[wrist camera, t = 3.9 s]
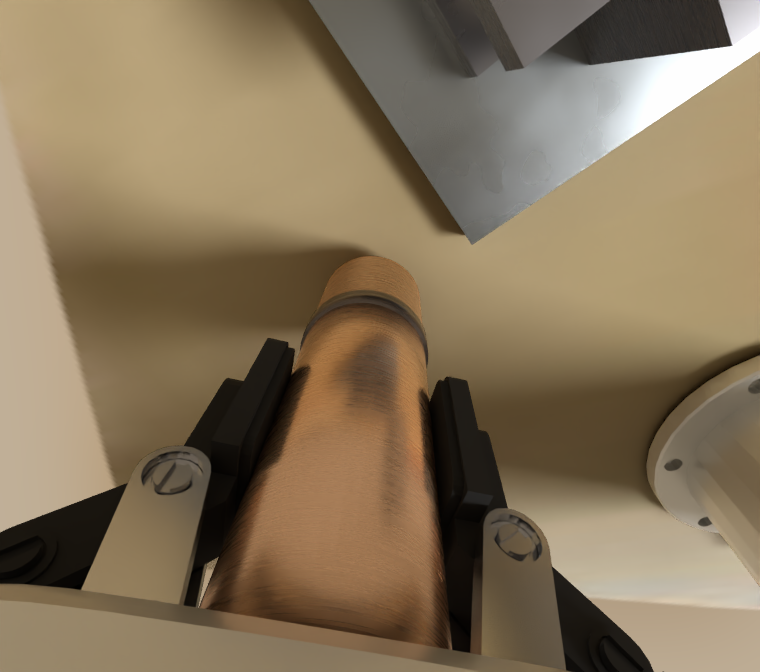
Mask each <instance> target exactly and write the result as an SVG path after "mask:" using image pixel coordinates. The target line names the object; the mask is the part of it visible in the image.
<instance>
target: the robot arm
mask: <svg viewBox="0 0 760 672" xmlns="http://www.w3.org/2000/svg"><path fill="white" fill-rule="evenodd" d="M294 353H295V349H293V348H288V342H285V341H280V340H276V339H271V338H268V339H267V340H266V342H265V344H264V346H263V348H262V349H261V351H260V353H259V355H258V357H257V358H256V360H255V362H254V364H253V366H252V367H251V369H250V371H249V373H248V375H247V377H246V378H245V380H244V381H239V380H235V379H230V378H227V379H226V380H225V381H224V382H223V384H222V385H221V387H220V388H219V390H218V392H217V393H216V395H215V396H214V398H213V400H212V401H211V403H210V404H209V406H208V408H207V409H206V411H205V412H204V414H203V416H202V417H201V419H200V421H199V422H198V424H197V425H196V427H195V429H194V430H193V432H192V433H191V435H190V437H189V438H188V440H187V441H186V443H185V445H184V446H169V447H165V448H161V449H158V450H156V451H154V452H152V453H150V454H148V455H147V456H146V457H144V458H143V459H142V460H141V461H140V462H139V463H138V465H137V466H136V468H135V469H134V471H133V473H132V475H131V478H130V480H129V482H128V483H126V484H124V485H121V486H119V487H116V488H113V489H111V490H108V491H106V492H103V493H101V494H98V495H95V496H92V497H90V498H87V499H84V500H82V501H79V502H77V503H74V504H71V505H69V506H66V507H64V508H61V509H58V510H56V511H53V512H51V513H48V514H45V515H42V516H40V517H37V518H35V519H32V520H29V521H27V522H24V523H21V524H19V525H16V526H14V527H11V528H9V529H7V530H5V531H3V532H1V533H0V672H654V671H653V669H652V667H651V664H650V662H649V660H648V659H647V657H646V656H645V654H644V653H643V651H642V650H641V649H640V647H639V646H638V645H637V644H636V643H635V642H634V641H633V640H632V639H631V638H630V637H629V636H628V635H627V634H626V633H625V632H624V631H623V630H622V629H621V628H619V627H618V626H617V625H616V624H615V623H614V622H613V621H612V620H611V619H610V618H608V617H607V616H606V615H605V614H604V613H603V612H602V611H601V610H600V609H599V608H597V607H596V606H595V605H594V604H593V603H592V602H591V601H590V600H589V599H588V598H586V597H585V596H584V595H583V594H582V593H581V592H580V591H579V590H578V589H576V588H575V587H574V586H573V585H572V584H571V583H570V582H569V581H568V580H567V579H565V578H564V577H563V576H562V575H561V574H560V573H559V572H558V571H557V570H555V569H554V568H553V567H552V564H551V556H550V549H549V545H548V542H547V539H546V537H545V536H544V534H543V532H542V531H541V529H540V528H539V527H538V526H537V525H536V524H535V523H534V522H533V521H532V520H531V519H529V518H528V517H527V516H525V515H524V514H522V513H520V512H518V511H515V510H512V509H508V507H507V503H506V500H505V496H504V492H503V488H502V484H501V480H500V476H499V472H498V469H497V465H496V461H495V457H494V453H493V449H492V445H491V442H490V438H489V435H488V433H487V432H486V431H481V430H478V426H477V422H476V418H475V413H474V409H473V405H472V400H471V396H470V392H469V387H468V383H467V381H466V380H461V379H457V378H452V377H446V378H445V380H444V381H442V380H438V382H437V384H436V387H435V389H434V392H433V395H432V398H431V400H430V414H431V425H432V436H433V447H434V457H435V468H436V479H437V490H438V501H439V512H440V523H441V533H442V544H443V555H444V566H445V577H446V588H447V599H448V610H449V620H450V631H451V642H452V650H449V649H443V648H437V647H431V646H426V645H420V644H414V643H408V642H402V641H396V640H390V639H384V638H378V637H372V636H367V635H361V634H355V633H349V632H343V631H337V630H331V629H325V628H319V627H313V626H307V625H301V624H295V623H289V622H283V621H277V620H271V619H264V618H258V617H252V616H246V615H240V614H233V613H227V612H221V611H215V610H209V609H202V608H198V606H199V601H200V596H201V591H202V587H203V582H204V576H205V572H206V567H207V563H208V562H210V561H212V560H214V559H215V558H217V557H219V556H220V553H221V551H222V548H223V545H224V543H225V540H226V538H227V535H228V533H229V530H230V528H231V525H232V523H233V520H234V518H235V515H236V513H237V510H238V508H239V505H240V503H241V500H242V497H243V495H244V492H245V490H246V488H247V486H248V484H249V481H250V478H251V476H252V473H253V471H254V468H255V466H256V463H257V461H258V458H259V456H260V453H261V451H262V448H263V446H264V443H265V440H266V438H267V435H268V433H269V430H270V428H271V425H272V423H273V420H274V418H275V415H276V413H277V410H278V408H279V405H280V402H281V400H282V397H283V395H284V392H285V390H286V387H287V385H288V382H289V380H290V377H291V373H292V367H293V360H294ZM646 467H647V477H648V481H649V484H650V486H651V488H652V490H653V493H654V494H655V495H656V497H657V498H658V500H659V501H660V503H661V504H662V505H663V507H664V508H665V510H666V511H667V512H669V513H670V514H671V515H672V516H673V517H674V518H676V519H677V520H679V521H681V522H683V523H685V524H687V525H688V526H690V527H694V528H697V529H700V530H704V531H707V532H713V533H720V534H721V535H722V537H723V538H724V540H725V541H726V542H727V544H728V545H729V546H730V548H731V549H732V550H733V552H734V553H735V554H736V556H737V557H738V558H739V560H740V561H741V562H742V564H743V565H744V566H745V568H746V569H747V570H748V572H749V573H750V574H751V576H752V577H753V578H754V580H755V581H756V582H757V584H758V585H759V586H760V355H759V356H756V357H754V358H752V359H749V360H747V361H745V362H742V363H740V364H738V365H736V366H733V367H731V368H730V369H728V370H726V371H724V372H723V373H721V374H719V375H717V376H716V377H714V378H712V379H711V380H709V381H707V382H706V383H705V384H703V385H702V386H701V387H699V388H698V389H697V390H695V391H694V392H693V393H691V394H690V395H689V396H688V397H686V398H685V399H684V400H683V401H682V402H681V403H680V404H679V405H678V406H677V407H676V408H675V409H674V410H673V411H672V413H671V414H670V415H669V416H668V418H667V419H666V420H665V422H664V423H663V425H662V426H661V427H660V429H659V430H658V432H657V433H656V436H655V438H654V440H653V442H652V444H651V447H650V449H649V454H648V459H647V464H646Z"/></svg>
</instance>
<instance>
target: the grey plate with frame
mask: <svg viewBox="0 0 760 672" xmlns="http://www.w3.org/2000/svg"><path fill="white" fill-rule="evenodd" d="M309 2H310V3H311V5H312V6H313V8H314V9H315V11H316V12H317V14H318V15H319V17H320V18H321V20H322V21H323V23H324V24H325V26H326V27H327V29H328V30H329V32H330V33H331V35H332V36H333V38H334V39H335V41H336V42H337V44H338V45H339V47H340V48H341V50H342V51H343V53H344V54H345V56H346V57H347V59H348V60H349V62H350V63H351V65H352V66H353V68H354V69H355V71H356V72H357V74H358V75H359V77H360V78H361V80H362V81H363V83H364V84H365V86H366V87H367V88H368V90H369V91H370V93H371V94H372V96H373V97H374V99H375V100H376V102H377V103H378V105H379V106H380V108H381V109H382V111H383V112H384V114H385V115H386V117H387V118H388V120H389V121H390V123H391V124H392V126H393V127H394V129H395V130H396V132H397V133H398V135H399V136H400V138H401V139H402V141H403V142H404V144H405V145H406V147H407V148H408V150H409V151H410V153H411V154H412V156H413V157H414V159H415V160H416V162H417V163H418V165H419V166H420V168H421V169H422V171H423V172H424V174H425V175H426V177H427V178H428V180H429V181H430V183H431V184H432V186H433V187H434V189H435V190H436V192H437V193H438V195H439V196H440V198H441V199H442V201H443V202H444V204H445V205H446V207H447V208H448V210H449V211H450V213H451V214H452V216H453V217H454V219H455V220H456V222H457V223H458V225H459V226H460V228H461V229H462V231H463V232H464V234H465V235H466V237H467V238H468V240H469V241H470V243H471V244H474V243H475V242H477V241H478V240H480V239H481V238H483V237H484V236H486V235H487V234H489V233H490V232H492V231H493V230H495V229H496V228H498V227H499V226H501V225H502V224H504V223H505V222H507V221H508V220H510V219H511V218H513V217H514V216H515V215H517V214H518V213H520V212H521V211H523V210H524V209H526V208H527V207H529V206H530V205H532V204H533V203H535V202H536V201H538V200H539V199H541V198H542V197H544V196H545V195H547V194H548V193H550V192H551V191H553V190H554V189H555V188H557V187H558V186H560V185H561V184H563V183H564V182H566V181H567V180H569V179H570V178H572V177H573V176H575V175H576V174H578V173H579V172H581V171H582V170H584V169H585V168H587V167H588V166H590V165H591V164H593V163H594V162H595V161H597V160H598V159H600V158H601V157H603V156H604V155H606V154H607V153H609V152H610V151H612V150H613V149H615V148H616V147H618V146H619V145H621V144H622V143H624V142H625V141H627V140H628V139H630V138H631V137H633V136H634V135H636V134H637V133H638V132H640V131H641V130H643V129H644V128H646V127H647V126H649V125H650V124H652V123H653V122H655V121H656V120H658V119H659V118H661V117H662V116H664V115H665V114H667V113H668V112H670V111H671V110H673V109H674V108H676V107H677V106H678V105H680V104H681V103H683V102H684V101H686V100H687V99H689V98H690V97H692V96H693V95H695V94H696V93H698V92H699V91H701V90H702V89H704V88H705V87H707V86H708V85H710V84H711V83H713V82H714V81H716V80H717V79H718V78H720V77H721V76H723V75H724V74H726V73H727V72H729V71H730V70H732V69H733V68H735V67H736V66H738V65H739V64H741V63H742V62H744V61H745V60H747V59H748V58H750V57H751V56H753V55H754V54H756V53H757V52H759V51H760V0H309Z"/></svg>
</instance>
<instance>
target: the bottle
mask: <svg viewBox="0 0 760 672" xmlns="http://www.w3.org/2000/svg"><path fill="white" fill-rule="evenodd" d="M427 364H428V348H427V339H426V333H425V330H424V327H423V325H422V316H421V305H420V296H419V291H418V287H417V285H416V283H415V281H414V279H413V278H412V276H411V275H410V274H409V272H408V271H407V270H406V269H404V268H403V267H402V266H401V265H399V264H398V263H396V262H394V261H392V260H389V259H386V258H383V257H377V256H364V257H359V258H355V259H352V260H350V261H348V262H346V263H344V264H343V265H341V266H340V267H339V268H338V269H337V270H336V271H335V272H334V273H333V274H332V276H331V277H330V279H329V281H328V283H327V285H326V288H325V290H324V293H323V295H322V298H321V301H320V303H319V306H318V308H317V310H316V311H315V312H314V314H313V315H312V317H311V319H310V321H309V323H308V325H307V328H306V330H305V332H304V335H303V338H302V341H301V348H300V354H299V356H298V359H297V361H296V364H295V366H294V369H293V371H292V374H291V377H290V380H289V382H288V385H287V387H286V390H285V392H284V395H283V397H282V400H281V402H280V405H279V408H278V410H277V413H276V415H275V418H274V420H273V423H272V425H271V428H270V430H269V433H268V435H267V438H266V440H265V443H264V446H263V448H262V451H261V453H260V456H259V458H258V461H257V463H256V466H255V468H254V471H253V473H252V476H251V478H250V481H249V484H248V486H247V488H246V490H245V492H244V495H243V497H242V500H241V503H240V505H239V508H238V510H237V513H236V515H235V518H234V520H233V523H232V525H231V528H230V530H229V533H228V535H227V538H226V540H225V543H224V545H223V548H222V551H221V553H220V556H219V558H218V561H217V563H216V566H215V568H214V571H213V573H212V576H211V578H210V581H209V583H208V586H207V589H206V591H205V594H204V596H203V599H202V601H201V604H200V606H199V608H202V609H209V610H215V611H221V612H227V613H233V614H240V615H246V616H252V617H258V618H264V619H271V620H277V621H283V622H289V623H295V624H301V625H307V626H313V627H319V628H325V629H331V630H337V631H343V632H349V633H355V634H361V635H367V636H372V637H378V638H384V639H390V640H396V641H402V642H408V643H414V644H420V645H426V646H431V647H437V648H443V649H449V650H452V642H451V631H450V620H449V610H448V599H447V588H446V577H445V566H444V555H443V544H442V533H441V523H440V512H439V501H438V490H437V479H436V468H435V457H434V447H433V436H432V425H431V414H430V403H429V392H428V381H427V371H426V369H427Z"/></svg>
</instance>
